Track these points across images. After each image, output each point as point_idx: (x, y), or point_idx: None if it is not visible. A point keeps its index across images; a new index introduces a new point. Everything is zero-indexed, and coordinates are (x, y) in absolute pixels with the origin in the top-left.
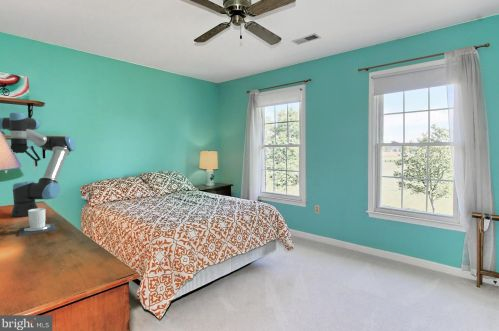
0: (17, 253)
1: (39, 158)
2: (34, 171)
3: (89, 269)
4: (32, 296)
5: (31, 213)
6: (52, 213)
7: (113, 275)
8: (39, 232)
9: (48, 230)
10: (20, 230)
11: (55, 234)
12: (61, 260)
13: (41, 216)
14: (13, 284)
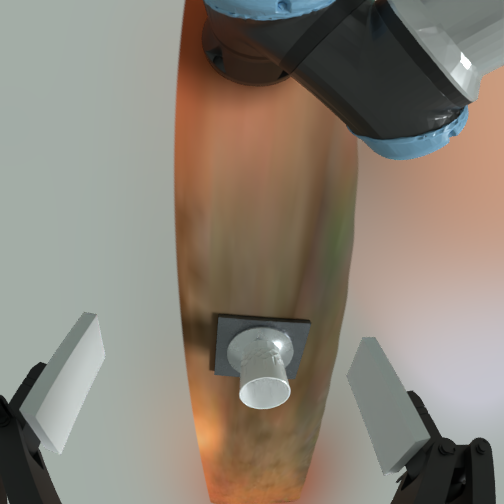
0: (214, 445)
1: (453, 486)
2: (351, 377)
3: (274, 491)
4: (226, 499)
5: (247, 400)
6: None
7: (284, 499)
8: None
9: None
10: (218, 344)
11: None
12: (259, 476)
13: (272, 391)
14: (213, 487)
